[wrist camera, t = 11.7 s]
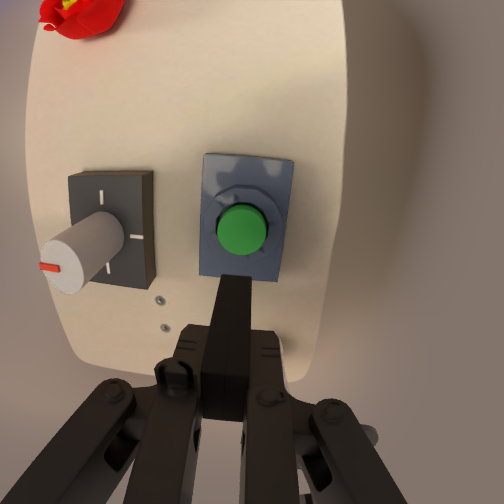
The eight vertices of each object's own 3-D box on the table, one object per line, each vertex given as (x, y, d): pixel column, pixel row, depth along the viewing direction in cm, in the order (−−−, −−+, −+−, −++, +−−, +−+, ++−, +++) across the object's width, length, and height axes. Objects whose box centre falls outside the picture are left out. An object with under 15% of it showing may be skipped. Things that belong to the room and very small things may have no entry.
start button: (262, 249, 25) (263, 257, 23) (218, 245, 25) (216, 253, 23) (267, 206, 23) (268, 211, 22) (221, 202, 23) (218, 207, 22)
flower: (110, -15, 16) (79, -41, 8) (147, 4, 18) (118, -28, 10) (67, 33, 18) (27, 18, 11) (99, 56, 20) (57, 39, 13)
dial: (123, 211, 24) (76, 243, 16) (126, 257, 26) (87, 300, 18) (84, 210, 24) (33, 239, 16) (88, 253, 26) (45, 291, 18)
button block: (276, 272, 30) (278, 291, 26) (202, 265, 30) (195, 284, 26) (290, 160, 25) (297, 163, 21) (207, 152, 25) (199, 155, 21)
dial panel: (156, 276, 30) (147, 290, 27) (91, 268, 30) (79, 280, 27) (153, 171, 25) (141, 175, 23) (82, 171, 25) (66, 176, 22)
